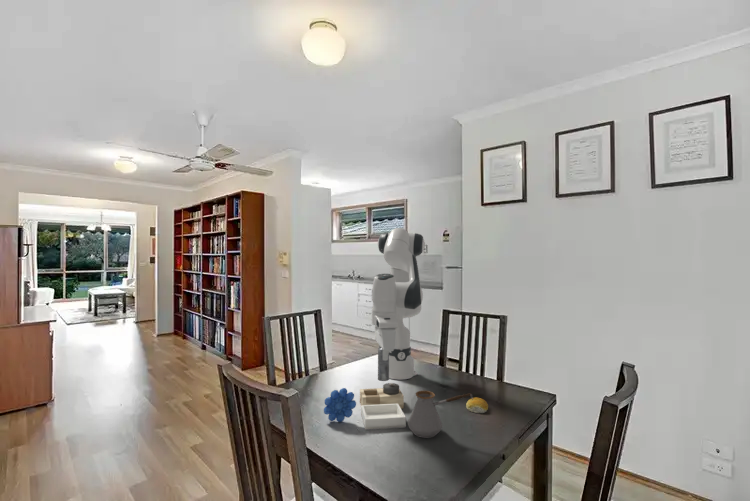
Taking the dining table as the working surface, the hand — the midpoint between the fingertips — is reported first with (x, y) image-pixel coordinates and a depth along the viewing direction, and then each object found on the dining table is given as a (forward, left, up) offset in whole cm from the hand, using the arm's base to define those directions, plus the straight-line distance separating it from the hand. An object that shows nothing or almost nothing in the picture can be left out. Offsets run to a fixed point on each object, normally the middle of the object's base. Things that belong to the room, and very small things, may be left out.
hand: (383, 357), depth 133 cm
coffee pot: (+12, +17, -23) cm, 31 cm away
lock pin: (0, 0, -8) cm, 8 cm away
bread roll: (-6, +39, -23) cm, 45 cm away
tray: (0, 0, -22) cm, 22 cm away
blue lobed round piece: (-2, -15, -23) cm, 27 cm away
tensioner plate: (-14, +2, -22) cm, 27 cm away
